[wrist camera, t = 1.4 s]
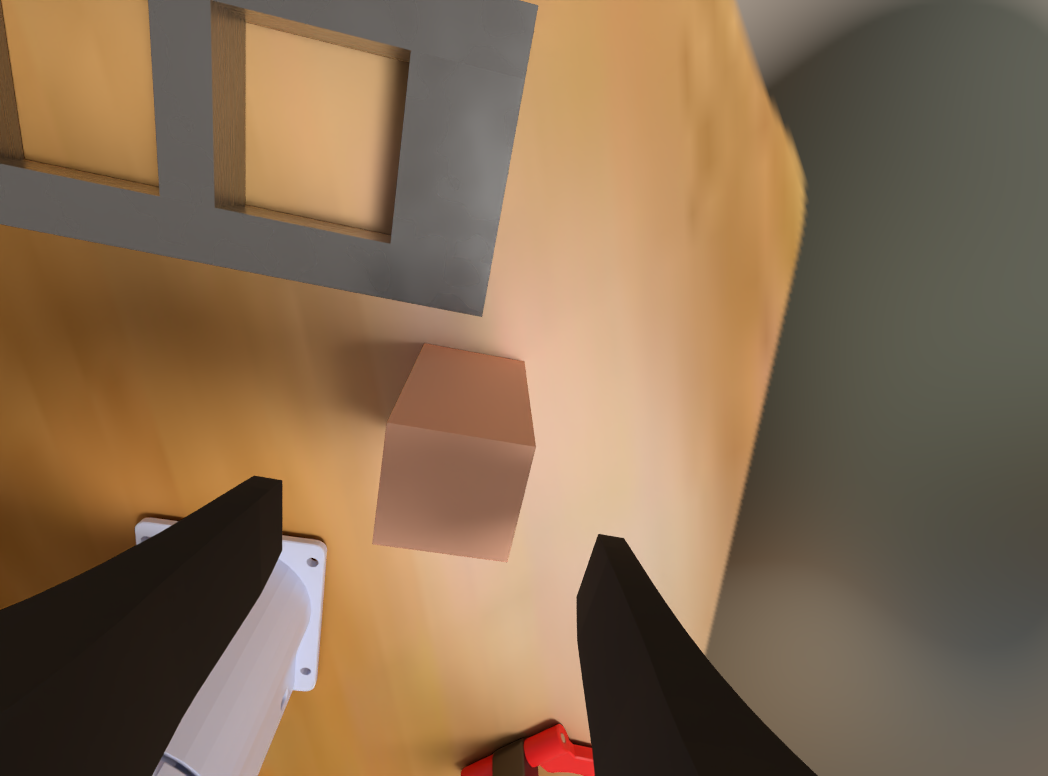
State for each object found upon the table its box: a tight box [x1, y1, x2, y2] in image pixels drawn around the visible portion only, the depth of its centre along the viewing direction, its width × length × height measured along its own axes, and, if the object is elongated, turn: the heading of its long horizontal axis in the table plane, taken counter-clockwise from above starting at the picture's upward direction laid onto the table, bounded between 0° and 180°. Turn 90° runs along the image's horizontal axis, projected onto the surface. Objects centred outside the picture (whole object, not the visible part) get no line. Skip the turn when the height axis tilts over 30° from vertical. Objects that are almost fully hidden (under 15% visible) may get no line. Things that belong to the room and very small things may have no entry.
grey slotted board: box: [0, 0, 538, 317], centre depth 15 cm, size 9×26×2 cm, turn 78°
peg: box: [372, 343, 536, 562], centre depth 17 cm, size 4×4×7 cm
